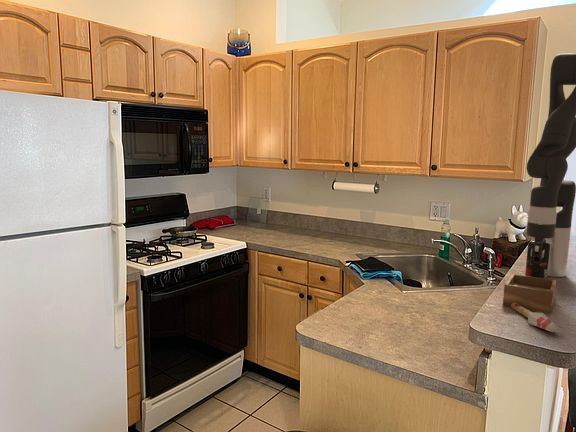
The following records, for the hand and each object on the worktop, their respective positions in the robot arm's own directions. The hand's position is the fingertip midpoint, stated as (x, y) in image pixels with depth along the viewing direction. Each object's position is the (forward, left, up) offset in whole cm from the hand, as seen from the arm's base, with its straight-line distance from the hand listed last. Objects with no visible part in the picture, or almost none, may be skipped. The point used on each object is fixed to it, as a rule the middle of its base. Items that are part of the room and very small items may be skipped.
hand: (536, 274), depth 137 cm
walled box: (+14, 0, -5) cm, 15 cm away
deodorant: (0, 0, -5) cm, 5 cm away
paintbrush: (+30, +3, -6) cm, 30 cm away
